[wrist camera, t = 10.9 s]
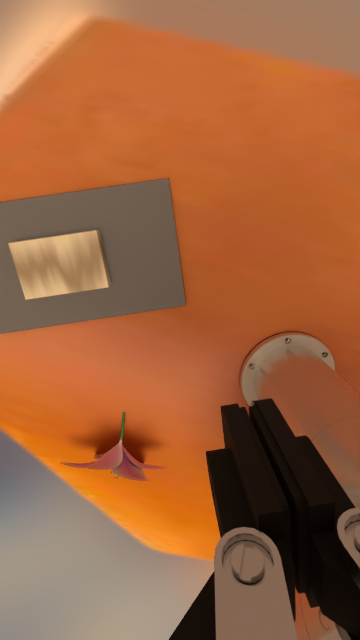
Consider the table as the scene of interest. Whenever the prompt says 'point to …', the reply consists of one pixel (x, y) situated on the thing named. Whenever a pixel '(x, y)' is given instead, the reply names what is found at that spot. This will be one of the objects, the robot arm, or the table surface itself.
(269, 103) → the table surface
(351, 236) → the table surface
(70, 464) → the lily
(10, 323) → the mat
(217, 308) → the table surface
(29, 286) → the tile
